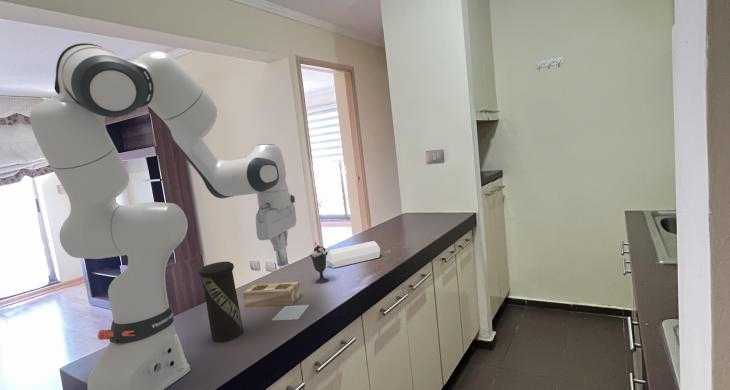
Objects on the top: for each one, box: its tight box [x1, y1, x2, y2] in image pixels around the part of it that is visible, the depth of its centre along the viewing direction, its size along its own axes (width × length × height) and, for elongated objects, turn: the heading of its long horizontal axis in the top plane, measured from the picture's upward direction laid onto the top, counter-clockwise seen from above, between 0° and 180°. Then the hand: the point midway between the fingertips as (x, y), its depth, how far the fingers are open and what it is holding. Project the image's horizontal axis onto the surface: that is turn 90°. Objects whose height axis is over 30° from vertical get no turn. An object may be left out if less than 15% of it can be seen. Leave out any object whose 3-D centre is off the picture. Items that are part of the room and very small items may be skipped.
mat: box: [271, 304, 310, 321], centre depth 115 cm, size 10×8×1 cm
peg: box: [275, 232, 289, 267], centre depth 113 cm, size 3×3×10 cm
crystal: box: [326, 240, 381, 269], centre depth 162 cm, size 7×7×24 cm
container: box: [198, 261, 244, 343], centre depth 103 cm, size 9×9×20 cm
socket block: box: [242, 280, 302, 308], centre depth 126 cm, size 8×16×5 cm, turn 79°
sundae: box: [309, 242, 330, 284], centre depth 141 cm, size 7×7×15 cm
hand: (281, 248), depth 113 cm, fingers closed on peg, 3 cm apart
